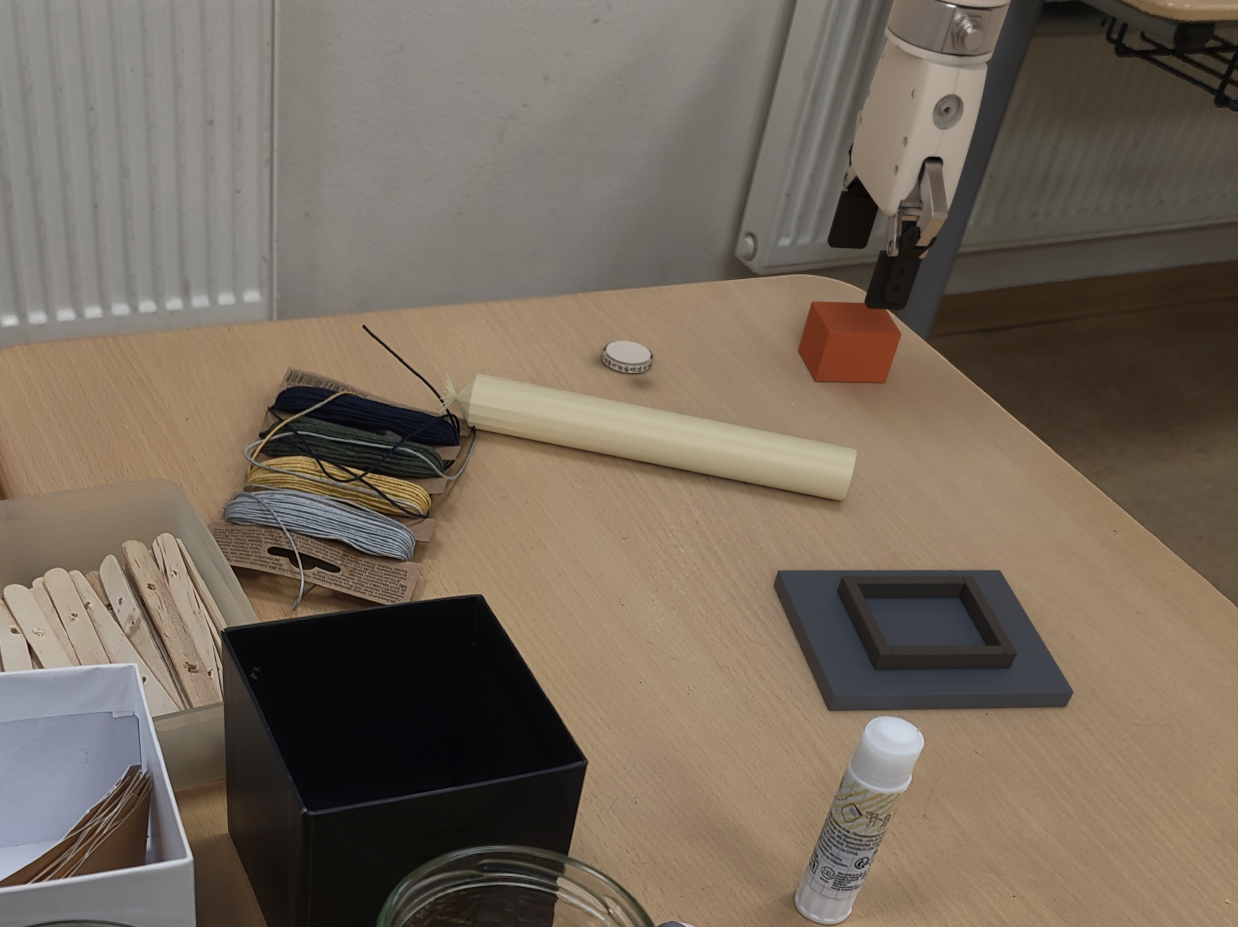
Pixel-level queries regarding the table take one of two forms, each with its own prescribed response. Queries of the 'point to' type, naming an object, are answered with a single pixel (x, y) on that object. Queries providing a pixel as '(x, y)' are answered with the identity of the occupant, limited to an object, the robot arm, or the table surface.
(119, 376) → the table surface
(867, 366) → the orange block
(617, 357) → the white flat disc
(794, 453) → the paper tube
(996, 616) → the board
